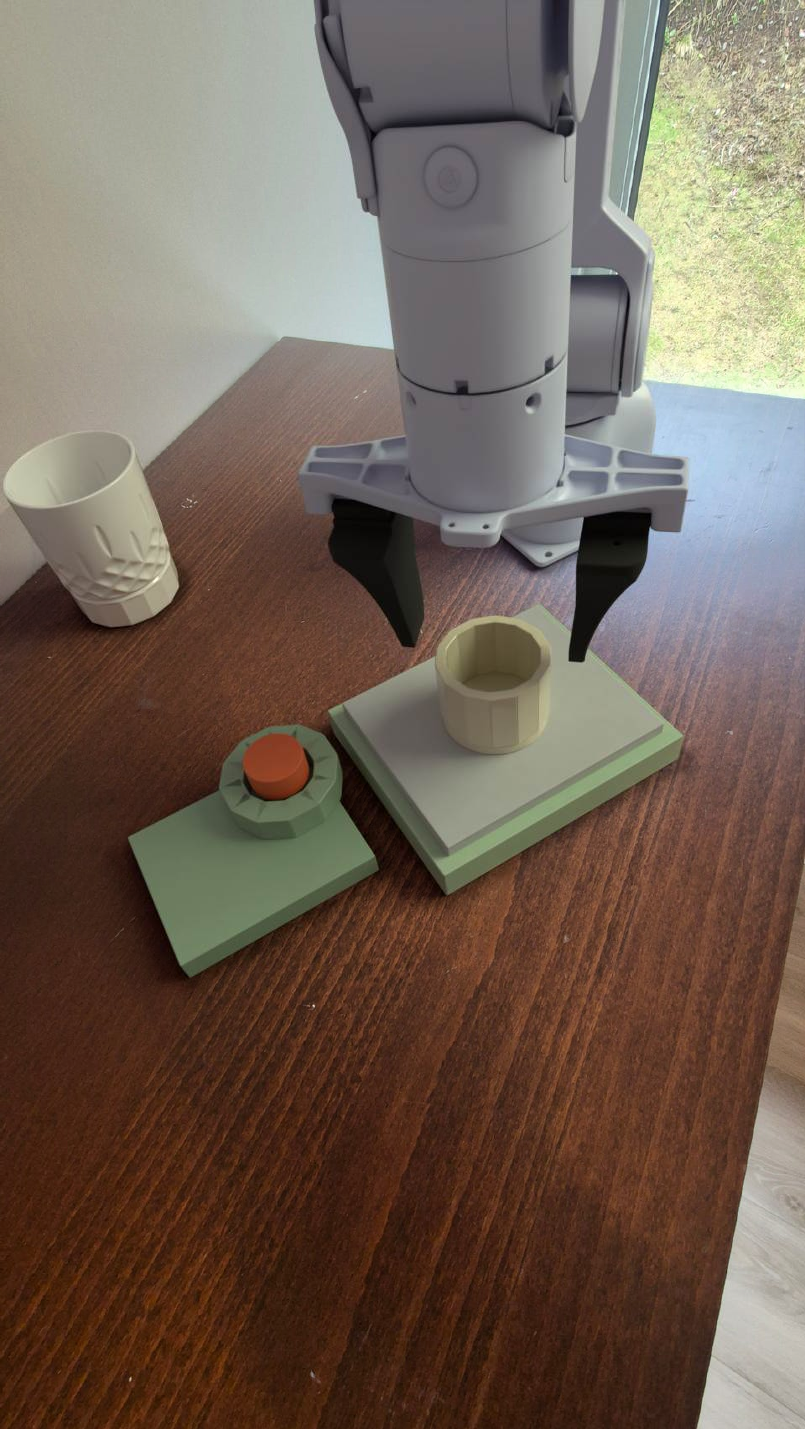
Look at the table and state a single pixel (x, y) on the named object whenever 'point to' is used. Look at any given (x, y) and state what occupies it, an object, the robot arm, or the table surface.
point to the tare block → (251, 856)
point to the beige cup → (494, 684)
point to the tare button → (276, 766)
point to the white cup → (95, 524)
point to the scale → (501, 760)
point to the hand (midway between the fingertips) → (493, 639)
